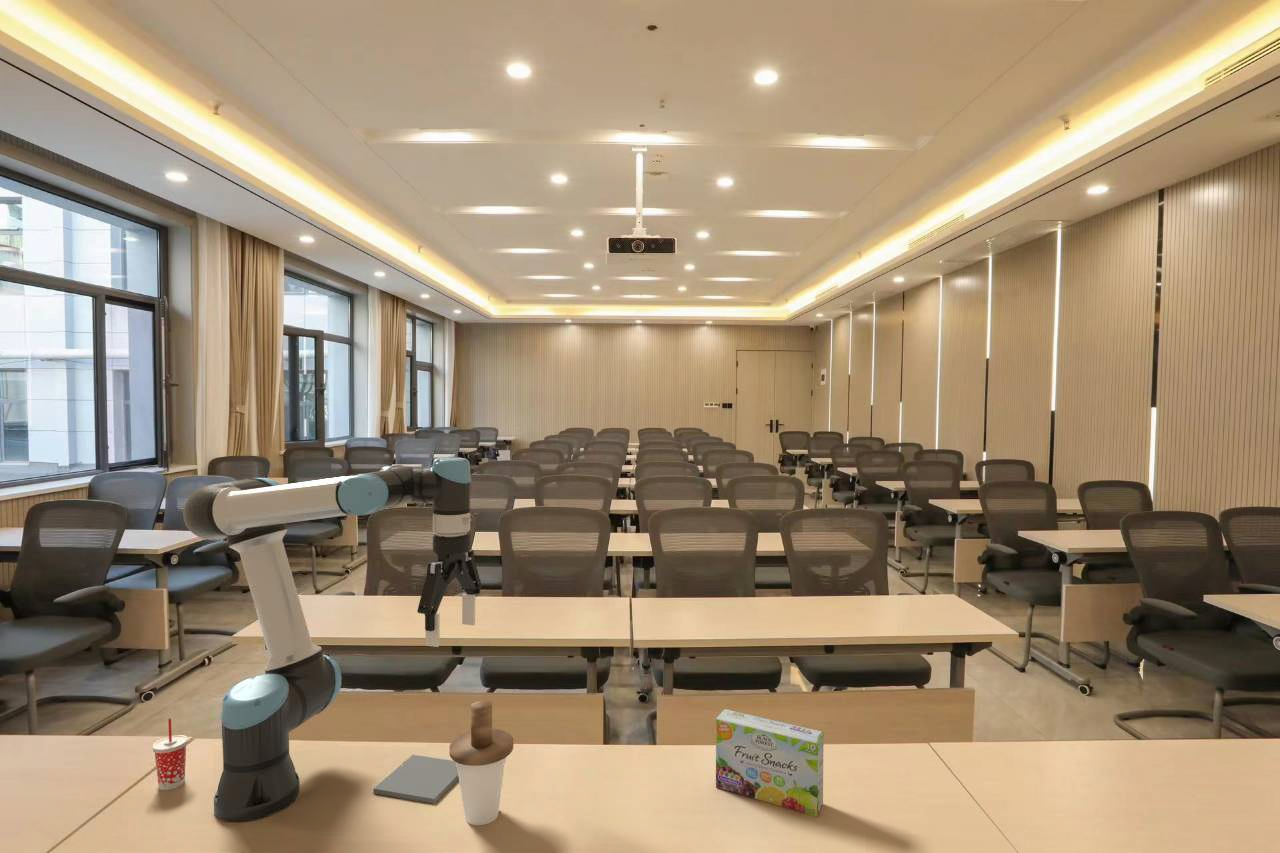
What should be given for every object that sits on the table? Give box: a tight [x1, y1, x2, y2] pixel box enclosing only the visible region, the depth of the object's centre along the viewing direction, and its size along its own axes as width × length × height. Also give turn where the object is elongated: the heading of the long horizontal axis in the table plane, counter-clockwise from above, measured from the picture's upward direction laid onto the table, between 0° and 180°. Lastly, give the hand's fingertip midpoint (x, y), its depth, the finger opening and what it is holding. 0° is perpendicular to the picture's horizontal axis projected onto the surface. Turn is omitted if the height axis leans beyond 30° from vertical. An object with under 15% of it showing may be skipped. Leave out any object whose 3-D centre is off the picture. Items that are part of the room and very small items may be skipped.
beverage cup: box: [152, 717, 189, 791], centre depth 145 cm, size 6×6×14 cm
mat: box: [372, 754, 459, 804], centre depth 147 cm, size 14×14×1 cm
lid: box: [449, 700, 514, 766], centre depth 134 cm, size 12×12×9 cm
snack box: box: [715, 708, 825, 817], centre depth 141 cm, size 21×6×15 cm, turn 62°
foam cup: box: [456, 757, 507, 826], centre depth 134 cm, size 10×9×13 cm
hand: (451, 634), depth 144 cm, fingers open, 13 cm apart
